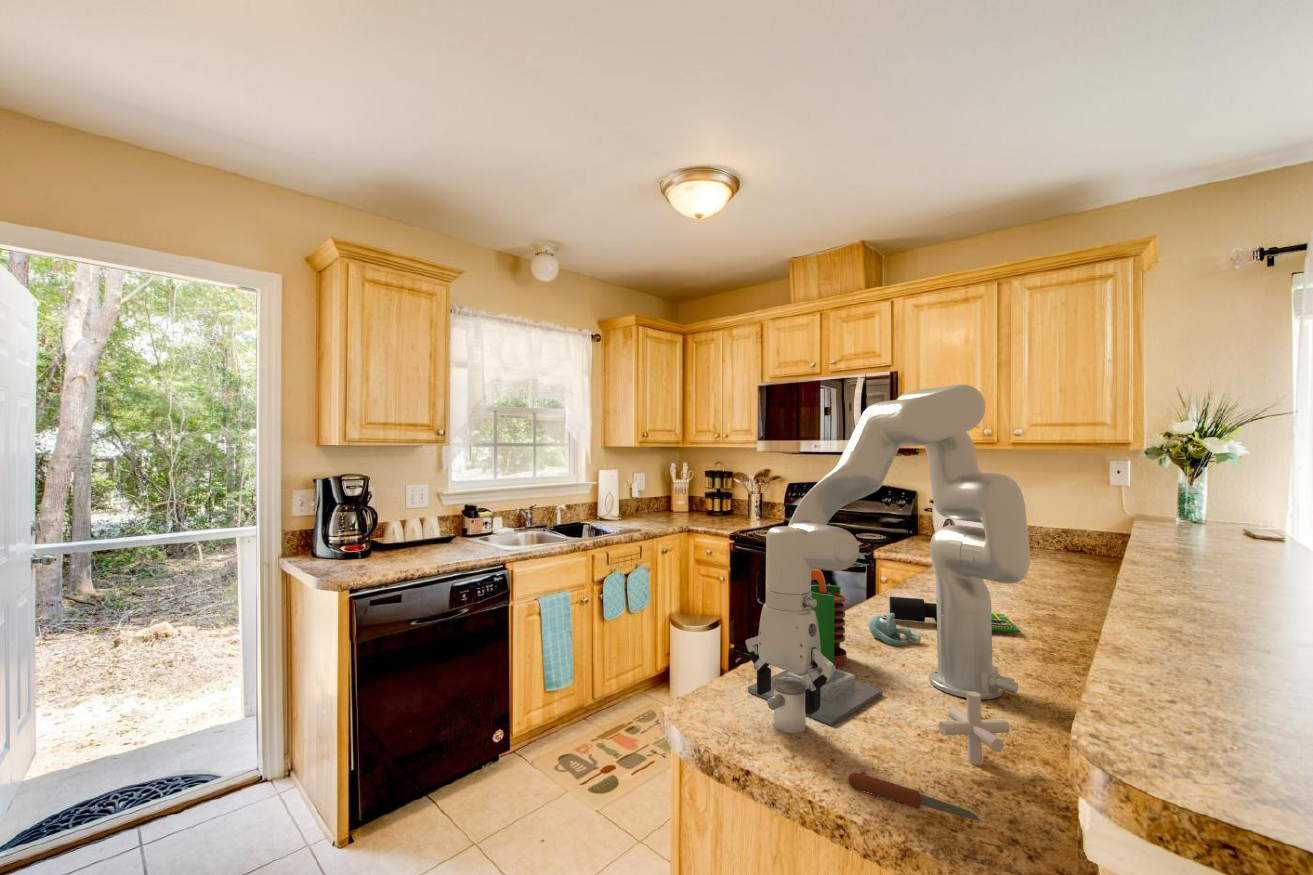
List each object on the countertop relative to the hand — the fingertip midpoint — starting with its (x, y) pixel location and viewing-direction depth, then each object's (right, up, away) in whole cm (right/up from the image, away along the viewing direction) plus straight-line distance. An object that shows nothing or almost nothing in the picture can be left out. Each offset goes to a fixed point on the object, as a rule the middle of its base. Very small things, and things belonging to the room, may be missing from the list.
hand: (787, 702), depth 93 cm
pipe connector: (+25, -4, -11) cm, 28 cm away
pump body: (0, -4, -1) cm, 4 cm away
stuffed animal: (+37, -6, +43) cm, 57 cm away
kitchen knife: (+11, -4, -21) cm, 24 cm away
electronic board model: (+58, -6, +57) cm, 82 cm away
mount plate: (+8, -4, +12) cm, 15 cm away
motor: (+16, -5, +30) cm, 34 cm away
